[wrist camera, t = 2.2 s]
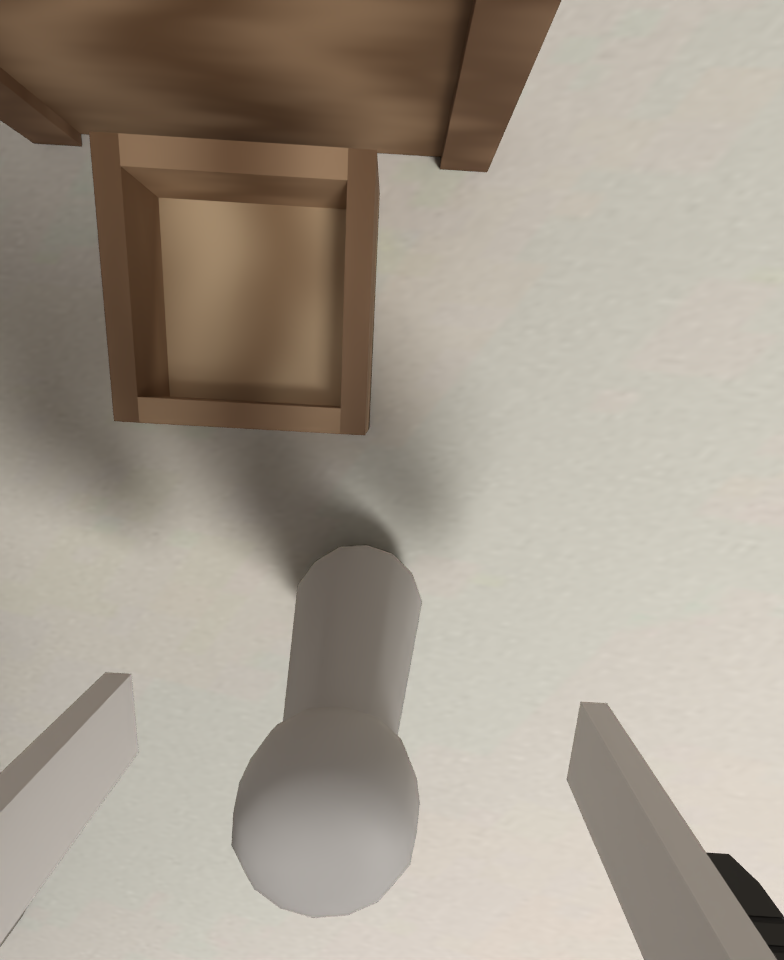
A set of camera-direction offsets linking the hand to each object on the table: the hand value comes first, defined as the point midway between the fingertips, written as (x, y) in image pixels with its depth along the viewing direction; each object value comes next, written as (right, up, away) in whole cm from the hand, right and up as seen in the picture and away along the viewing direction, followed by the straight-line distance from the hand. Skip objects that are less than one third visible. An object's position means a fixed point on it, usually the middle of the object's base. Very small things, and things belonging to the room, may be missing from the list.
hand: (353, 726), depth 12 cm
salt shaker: (0, +2, +9) cm, 10 cm away
